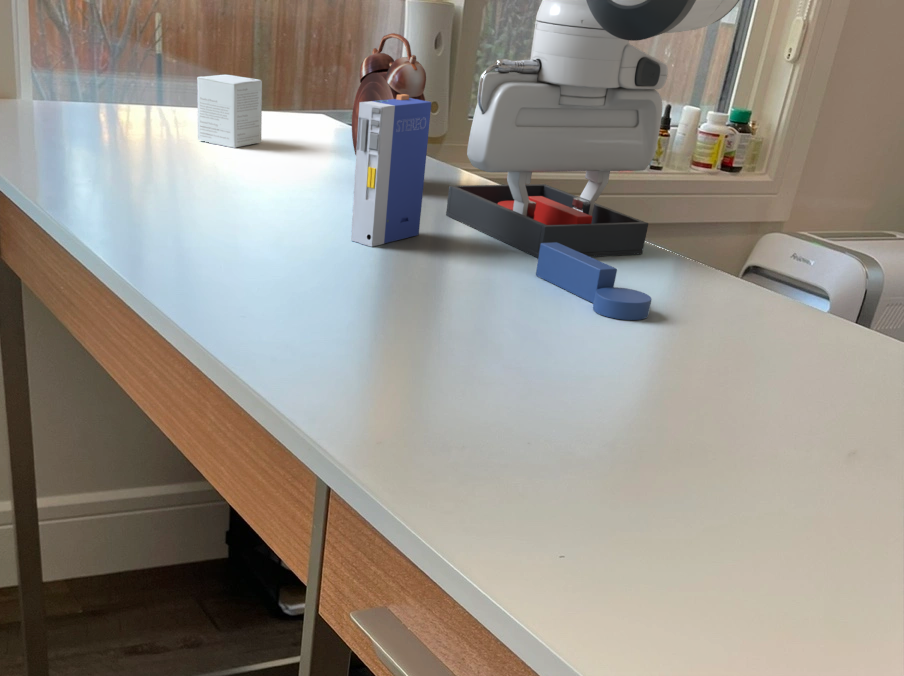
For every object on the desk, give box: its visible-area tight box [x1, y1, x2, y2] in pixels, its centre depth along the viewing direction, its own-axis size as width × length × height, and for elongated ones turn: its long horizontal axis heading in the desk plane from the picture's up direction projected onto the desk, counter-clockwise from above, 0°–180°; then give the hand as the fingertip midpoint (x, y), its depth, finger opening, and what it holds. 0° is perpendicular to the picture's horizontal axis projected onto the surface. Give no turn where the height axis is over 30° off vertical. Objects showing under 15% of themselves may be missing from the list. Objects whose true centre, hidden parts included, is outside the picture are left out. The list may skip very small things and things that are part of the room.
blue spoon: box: [535, 242, 653, 321], centre depth 95 cm, size 14×5×3 cm, turn 26°
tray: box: [445, 183, 649, 259], centre depth 114 cm, size 18×12×3 cm
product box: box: [196, 74, 263, 149], centre depth 143 cm, size 6×6×7 cm
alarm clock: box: [351, 33, 427, 156], centre depth 126 cm, size 11×5×15 cm, turn 28°
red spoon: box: [498, 196, 592, 225], centre depth 113 cm, size 14×5×3 cm, turn 26°
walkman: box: [350, 94, 432, 247], centre depth 104 cm, size 8×3×12 cm, turn 143°
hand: (552, 219), depth 112 cm, fingers open, 6 cm apart
